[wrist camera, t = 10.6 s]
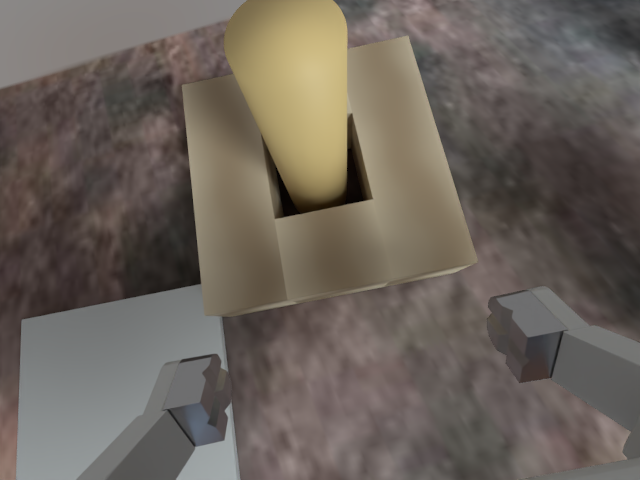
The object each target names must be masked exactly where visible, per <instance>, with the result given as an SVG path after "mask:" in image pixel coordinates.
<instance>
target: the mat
mask: <svg viewBox="0 0 640 480" xmlns="http://www.w3.org/2000/svg"><path fill="white" fill-rule="evenodd" d="M209 354H218V356H219V357H220V359H221V361H222V362H221V368H222V369H224V370H226V371H227V372H228V366H227V357H226V348H225V339H224V330H223V321H222V316H204V306H203V296H202V286H201V284H199V285H194V286H189V287H184V288H179V289H174V290H169V291H164V292H159V293H154V294H149V295H144V296H138V297H133V298H128V299H123V300H118V301H113V302H108V303H103V304H98V305H93V306H88V307H83V308H78V309H73V310H68V311H63V312H58V313H53V314H48V315H43V316H38V317H33V318H28V319H23V320H22V324H21V352H20V381H19V410H18V438H17V467H16V480H76V479H77V478H78V477H79V476H80V475H81V474H82V473H83V472H84V471H85V470H86V469H87V468H88V467H89V465H90V464H91V463H92V462H93V461H94V460H95V459H96V458H97V457H98V456H99V455H100V454H101V453H102V452H103V451H104V450H105V449H106V448H107V447H108V446H109V445H110V444H111V443H112V442H113V441H114V440H115V439H116V438H117V437H118V436H119V435H120V434H121V433H122V431H123V430H124V429H125V428H126V427H127V426H128V425H129V424H130V423H131V422H132V421H133V420H134V419H135V418H136V417H137V416H139V415H143V413H144V410H145V408H146V405H147V403H148V400H149V398H150V395H151V393H152V390H153V388H154V385H155V383H156V380H157V378H158V375H159V373H160V370H161V368H162V366H163V365H164V364H165V363H166V362H171V361H177V360H182V359H186V358H192V357H198V356H203V355H209ZM225 413H226V414H227V416H228V422H227V428H226V434H225V440H224V441H220V442H216V443H211V444H207V445H202V446H198V447H195V451H194V452H193V454H192V455H191V457H190V458H189V460H188V462H187V463H186V465H185V466H184V468H183V469H182V471H181V472H180V474H179V476H178V477H177V479H176V480H240V474H239V465H238V456H237V447H236V438H235V429H234V420H233V411H232V402H231V403H230V404H229V406H228V407H227V408H226V410H225Z"/></svg>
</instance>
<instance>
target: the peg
mask: <svg viewBox="0 0 640 480" xmlns="http://www.w3.org/2000/svg"><path fill="white" fill-rule="evenodd" d="M224 50H225V55H226V58H227V60H228V62H229V65H230V67H231V69H232V71H233V73H234V75H235V78H236V80H237V82H238V84H239V86H240V89H241V91H242V93H243V95H244V97H245V99H246V102H247V104H248V106H249V108H250V110H251V112H252V115H253V117H254V119H255V121H256V123H257V126H258V128H259V130H260V132H261V134H262V136H263V139H264V141H265V143H266V145H267V147H268V149H269V152H270V154H271V156H272V158H273V160H274V163H275V165H276V167H277V169H278V171H279V173H280V176H281V178H282V180H283V182H284V184H285V186H286V189H287V191H288V193H289V195H290V197H291V200H292V202H293V204H294V206H295V208H296V209H297V210H298V211H299V212H300V213H301V214H303V213H308V212H313V211H318V210H323V209H328V208H333V207H338V206H342V205H344V204H345V201H346V198H347V25H346V20H345V18H344V15H343V13H342V11H341V9H340V8H339V7H338V5H337V4H336V3H335V2H334V1H333V0H247V1H246V2H245V3H243V4H242V5H241V6H240V7H239V8H238V9H237V10H236V12H235V13H234V14H233V16H232V17H231V19H230V21H229V23H228V25H227V28H226V31H225V35H224Z"/></svg>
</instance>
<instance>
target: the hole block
mask: <svg viewBox="0 0 640 480" xmlns="http://www.w3.org/2000/svg"><path fill="white" fill-rule="evenodd" d="M182 92H183V103H184V113H185V123H186V133H187V143H188V153H189V164H190V174H191V184H192V194H193V204H194V214H195V225H196V235H197V245H198V255H199V265H200V276H201V286H202V296H203V306H204V316H224V317H233V316H238V315H243V314H248V313H253V312H258V311H263V310H269V309H274V308H279V307H284V306H289V305H294V304H299V303H304V302H309V301H315V300H320V299H325V298H330V297H335V296H340V295H345V294H350V293H355V292H360V291H366V290H371V289H376V288H381V287H386V286H391V285H396V284H401V283H406V282H412V281H417V280H422V279H427V278H432V277H437V276H442V275H447V274H452V273H455V272H457V271H459V270H462V269H464V268H466V267H468V266H471V265H473V264H475V263H477V262H478V260H477V256H476V253H475V250H474V247H473V243H472V240H471V237H470V234H469V231H468V227H467V224H466V221H465V218H464V214H463V211H462V208H461V205H460V202H459V198H458V195H457V192H456V189H455V185H454V182H453V179H452V176H451V172H450V169H449V166H448V163H447V160H446V156H445V153H444V150H443V147H442V143H441V140H440V137H439V134H438V131H437V127H436V124H435V121H434V118H433V114H432V111H431V108H430V105H429V102H428V98H427V95H426V92H425V89H424V85H423V82H422V79H421V76H420V73H419V69H418V66H417V63H416V60H415V56H414V53H413V50H412V47H411V44H410V40H409V37H408V36H404V37H400V38H395V39H390V40H386V41H381V42H377V43H372V44H367V45H363V46H358V47H354V48H349V49H347V149H351V150H352V154H353V158H354V163H355V167H356V171H357V175H358V180H359V184H360V188H361V192H362V197H363V201H362V202H357V203H352V204H347V205H342V206H338V207H333V208H328V209H323V210H318V211H313V212H308V213H303V214H298V215H293V216H289V217H284V214H283V208H282V202H281V196H280V190H279V184H278V178H277V172H276V166H275V163H274V160H273V158H272V156H271V154H270V152H269V149H268V147H267V145H266V143H265V141H264V139H263V136H262V134H261V132H260V130H259V128H258V126H257V123H256V121H255V119H254V117H253V115H252V112H251V110H250V108H249V106H248V104H247V102H246V99H245V97H244V95H243V93H242V91H241V89H240V86H239V84H238V82H237V80H236V78H235V75H234V74H230V75H225V76H221V77H216V78H212V79H207V80H203V81H198V82H193V83H189V84H184V85H182Z"/></svg>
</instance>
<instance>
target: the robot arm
mask: <svg viewBox="0 0 640 480" xmlns="http://www.w3.org/2000/svg"><path fill="white" fill-rule="evenodd" d="M488 308H489V309H490V311H491V312H492V313H491V314H490V316H489V317H488V318H487V330H488V334H489V337H490V339H491V341H492V343H493V345H494V347H495V348H496V350H497V351H499V352H501V353H503V354H505V355H507V356H506V364H507V366H508V367H509V369H510V370H511V372H512V373H513V375H514V376H515V377H516V379H517V380H518V382H519V383H525V382H531V381H537V380H543V379H549V378H552V379H551V380H552V381H554V382H555V383H557V384H559V385H560V386H562V387H563V388H565V389H566V390H568V391H569V392H571V393H572V394H574V395H575V396H577V397H579V398H580V399H582V400H583V401H585V402H586V403H588V404H589V405H591V406H592V407H594V408H595V409H597V410H599V411H600V412H602V413H603V414H605V415H606V416H608V417H609V418H611V419H612V420H614V421H615V422H617V423H618V424H620V425H622V426H623V427H625V428H626V429H628V430H629V431H631V433H630V435H629V437H628V439H627V441H626V443H625V445H624V448H623V454H624V455H625V456H626V457H627V459H628V460H622V461H617V462H612V463H606V464H601V465H595V466H590V467H584V468H579V469H574V470H568V471H563V472H557V473H552V474H546V475H541V476H536V477H530V478H525V479H519V480H640V343H639V342H637V341H634V340H632V339H629V338H627V337H624V336H622V335H619V334H617V333H614V332H612V331H609V330H606V329H604V328H601V327H599V326H596V325H594V326H589V325H588V324H587V323H586V322H585V321H584V320H583V319H582V318H581V317H579V316H578V315H577V314H576V313H575V312H574V311H573V310H572V309H571V308H570V307H569V306H568V305H567V304H565V303H564V302H563V301H562V300H561V299H560V298H559V297H558V296H557V295H556V294H555V293H554V292H553V291H551V290H550V289H549V288H548V287H545V286H541V287H536V288H532V289H527V290H522V291H517V292H513V293H508V294H503V295H499V296H494V297H491V298H490V299H489V302H488ZM221 362H222V361H221V359H220V357H219V356H218V354H209V355H203V356H198V357H192V358H186V359H182V360H177V361H171V362H166V363H165V364H164V365H163V366H162V368H161V370H160V373H159V375H158V378H157V380H156V383H155V385H154V388H153V390H152V393H151V395H150V398H149V400H148V403H147V405H146V408H145V410H144V413H143V415H139V416H137V417H136V418H135V419H134V420H133V421H132V422H131V423H130V424H129V425H128V426H127V427H126V428H125V429H124V430H123V431H122V433H121V434H120V435H119V436H118V437H117V438H116V439H115V440H114V441H113V442H112V443H111V444H110V445H109V446H108V447H107V448H106V449H105V450H104V451H103V452H102V453H101V454H100V455H99V456H98V457H97V458H96V459H95V460H94V461H93V462H92V463H91V464H90V465H89V467H88V468H87V469H86V470H85V471H84V472H83V473H82V474H81V475H80V476H79V477H78V478H77V479H76V480H176V479H177V477H178V476H179V474H180V472H181V471H182V469H183V468H184V466H185V465H186V463H187V462H188V460H189V458H190V457H191V455H192V454H193V452H194V451H195V447H198V446H202V445H207V444H211V443H216V442H220V441H224V440H225V434H226V428H227V422H228V416H227V414H226V413H225V410H226V408H227V407H228V406H229V404H230V403H231V397H232V383H231V379H230V376H229V374H228V372H227V371H226V370H224V369H222V368H221Z"/></svg>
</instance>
